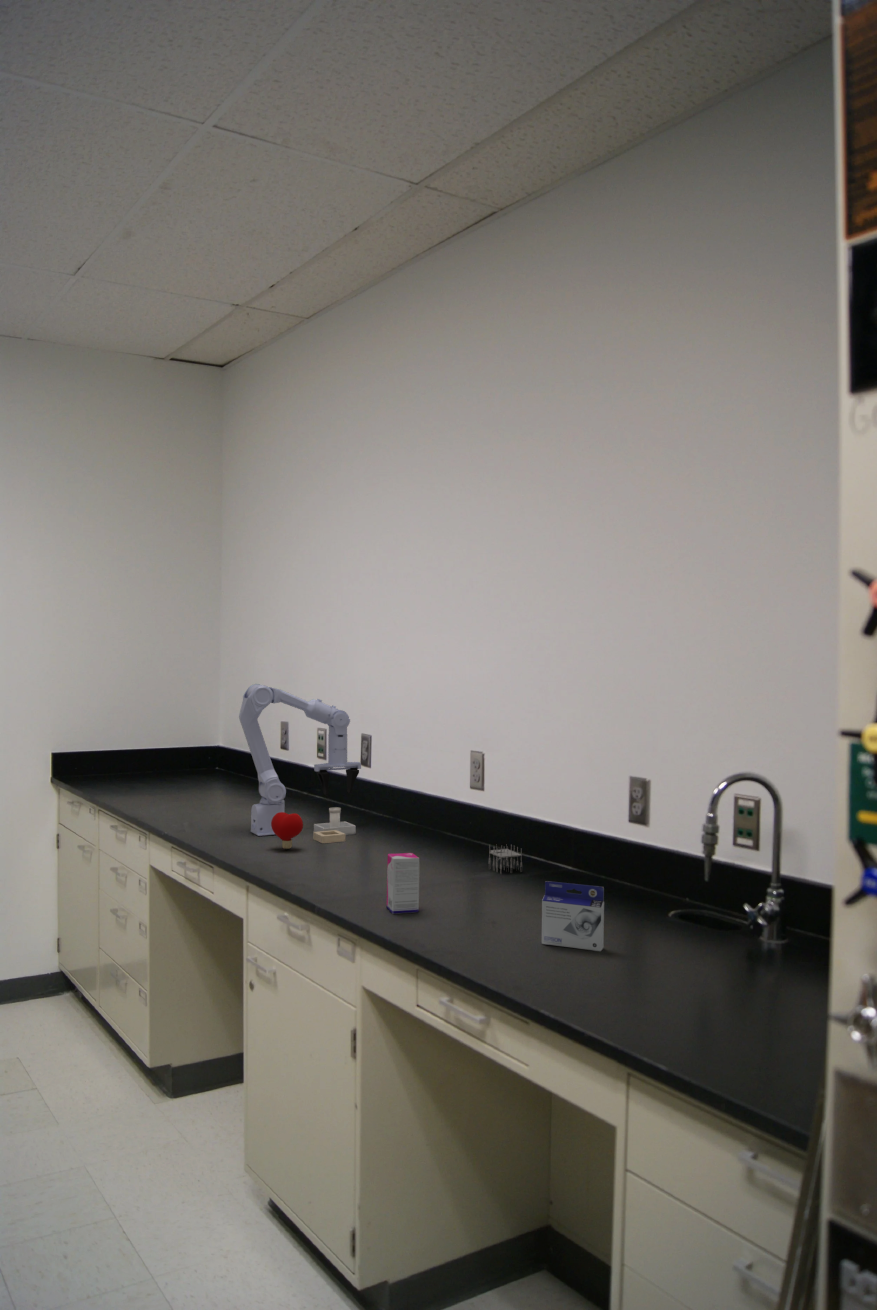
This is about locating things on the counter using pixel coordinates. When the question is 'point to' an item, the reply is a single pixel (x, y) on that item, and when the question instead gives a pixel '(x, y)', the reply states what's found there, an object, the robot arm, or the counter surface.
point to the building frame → (502, 854)
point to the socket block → (329, 836)
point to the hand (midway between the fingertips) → (337, 793)
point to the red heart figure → (286, 827)
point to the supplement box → (403, 883)
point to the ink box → (573, 916)
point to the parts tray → (336, 828)
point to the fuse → (334, 816)
